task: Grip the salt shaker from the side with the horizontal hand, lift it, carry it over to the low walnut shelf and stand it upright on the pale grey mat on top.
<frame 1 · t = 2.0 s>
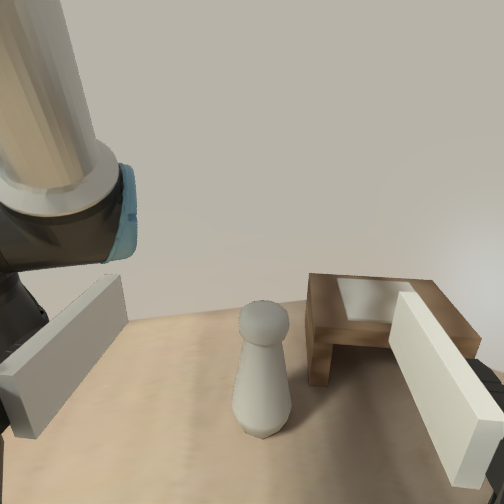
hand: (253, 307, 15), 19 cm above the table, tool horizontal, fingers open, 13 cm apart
walnut shelf: (370, 354, 41), on the table
salt shaker: (261, 421, 32), on the table
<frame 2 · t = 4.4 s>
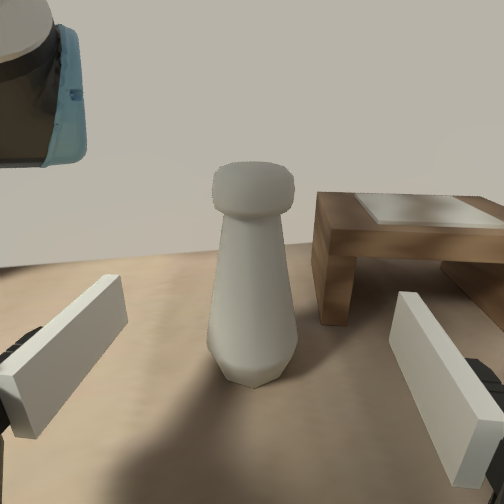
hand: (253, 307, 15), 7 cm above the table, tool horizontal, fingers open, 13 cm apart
walnut shelf: (401, 292, 30), on the table
salt shaker: (251, 366, 21), on the table
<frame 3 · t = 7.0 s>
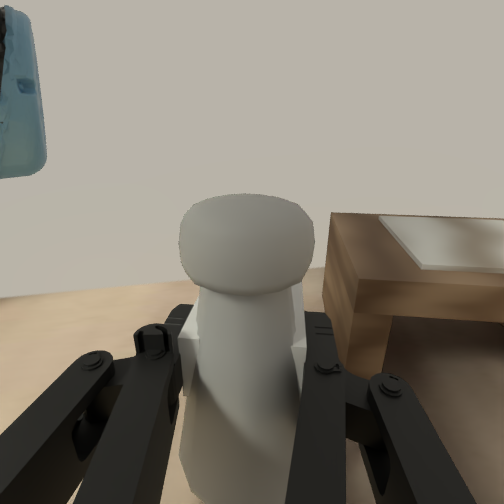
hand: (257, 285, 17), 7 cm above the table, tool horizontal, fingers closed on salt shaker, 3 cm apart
walnut shelf: (439, 343, 24), on the table
salt shaker: (246, 476, 15), on the table, touching gripper
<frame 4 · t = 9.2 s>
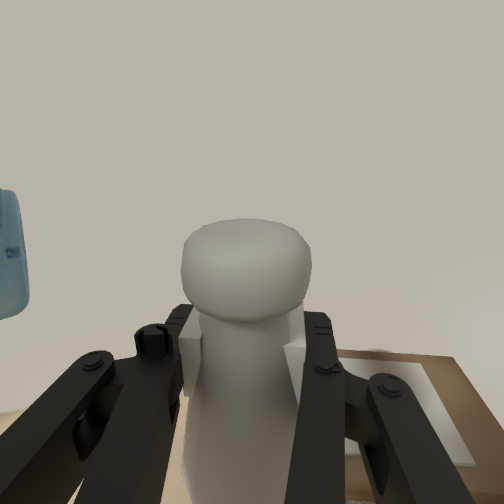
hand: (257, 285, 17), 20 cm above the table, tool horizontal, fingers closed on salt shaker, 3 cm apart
walnut shelf: (366, 470, 28), on the table
salt shaker: (246, 489, 15), point 12 cm above the table, touching gripper
when the fingers open (17 cm above the table, at t = 11.4 s): salt shaker stays where it is, resting on walnut shelf.
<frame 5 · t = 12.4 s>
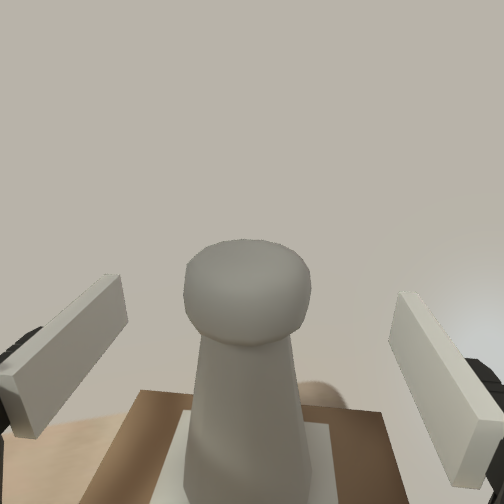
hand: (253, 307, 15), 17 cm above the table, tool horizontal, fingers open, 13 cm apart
salt shaker: (247, 499, 16), point 8 cm above the table, touching walnut shelf
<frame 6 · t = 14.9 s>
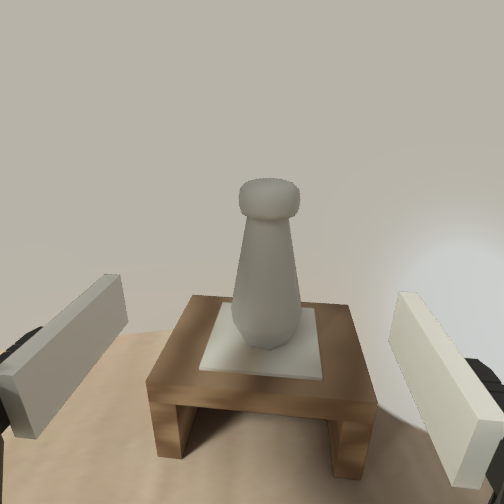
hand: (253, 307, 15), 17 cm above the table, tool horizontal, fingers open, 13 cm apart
walnut shelf: (262, 404, 31), on the table
salt shaker: (265, 336, 27), point 8 cm above the table, touching walnut shelf
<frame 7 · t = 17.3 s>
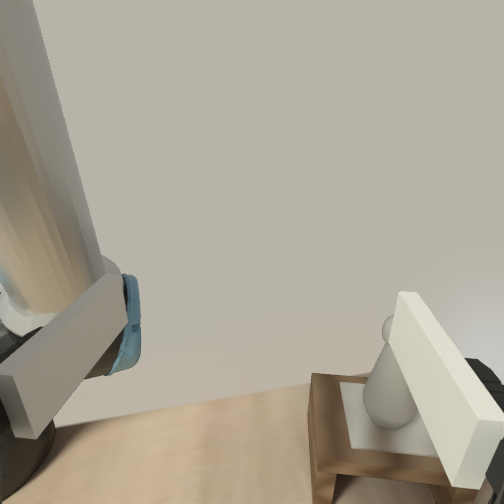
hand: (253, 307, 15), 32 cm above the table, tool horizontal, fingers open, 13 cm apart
walnut shelf: (373, 461, 41), on the table
salt shaker: (385, 416, 38), point 8 cm above the table, touching walnut shelf
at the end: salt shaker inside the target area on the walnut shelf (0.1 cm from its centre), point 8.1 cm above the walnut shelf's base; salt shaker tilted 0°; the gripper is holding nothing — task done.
